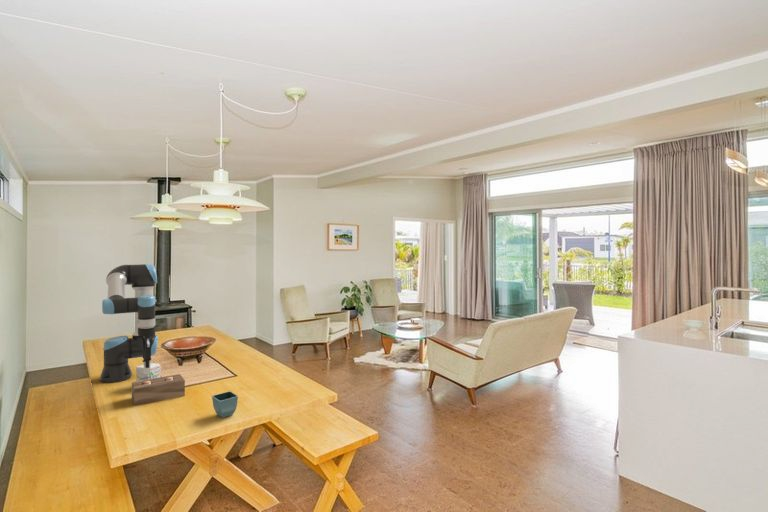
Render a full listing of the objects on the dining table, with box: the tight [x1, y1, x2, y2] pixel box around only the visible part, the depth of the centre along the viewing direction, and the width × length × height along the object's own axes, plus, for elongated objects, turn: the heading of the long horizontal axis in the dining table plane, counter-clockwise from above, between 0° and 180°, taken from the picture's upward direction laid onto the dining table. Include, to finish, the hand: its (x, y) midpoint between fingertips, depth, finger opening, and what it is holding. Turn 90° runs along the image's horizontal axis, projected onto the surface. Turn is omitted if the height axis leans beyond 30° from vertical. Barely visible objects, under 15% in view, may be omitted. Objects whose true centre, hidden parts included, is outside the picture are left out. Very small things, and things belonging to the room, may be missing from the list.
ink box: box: [135, 362, 162, 382], centre depth 220 cm, size 8×8×12 cm
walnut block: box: [131, 373, 186, 407], centre depth 206 cm, size 12×22×8 cm, turn 127°
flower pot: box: [211, 390, 239, 419], centre depth 186 cm, size 9×9×9 cm
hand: (146, 373), depth 203 cm, fingers closed
